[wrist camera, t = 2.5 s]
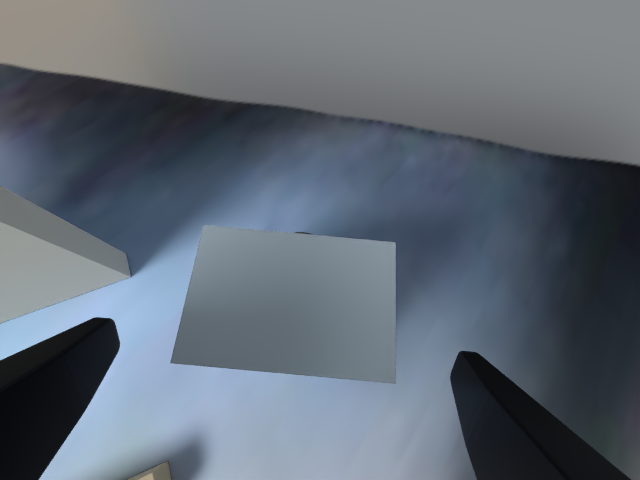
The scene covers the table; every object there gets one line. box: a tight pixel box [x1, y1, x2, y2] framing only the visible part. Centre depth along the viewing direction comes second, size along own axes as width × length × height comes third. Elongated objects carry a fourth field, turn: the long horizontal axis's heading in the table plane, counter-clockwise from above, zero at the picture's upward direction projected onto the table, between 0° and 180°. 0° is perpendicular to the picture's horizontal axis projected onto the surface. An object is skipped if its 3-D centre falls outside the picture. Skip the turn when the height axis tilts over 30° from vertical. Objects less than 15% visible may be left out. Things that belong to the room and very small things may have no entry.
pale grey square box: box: [171, 225, 396, 384], centre depth 13 cm, size 5×6×8 cm
